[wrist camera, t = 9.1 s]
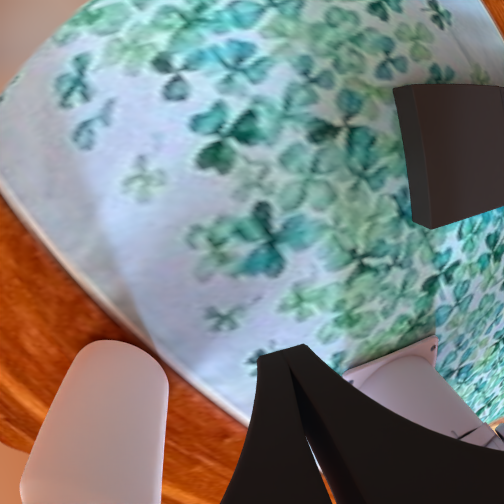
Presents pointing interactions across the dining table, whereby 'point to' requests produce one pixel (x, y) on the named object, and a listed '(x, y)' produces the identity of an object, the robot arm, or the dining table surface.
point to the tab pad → (452, 150)
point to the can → (102, 431)
